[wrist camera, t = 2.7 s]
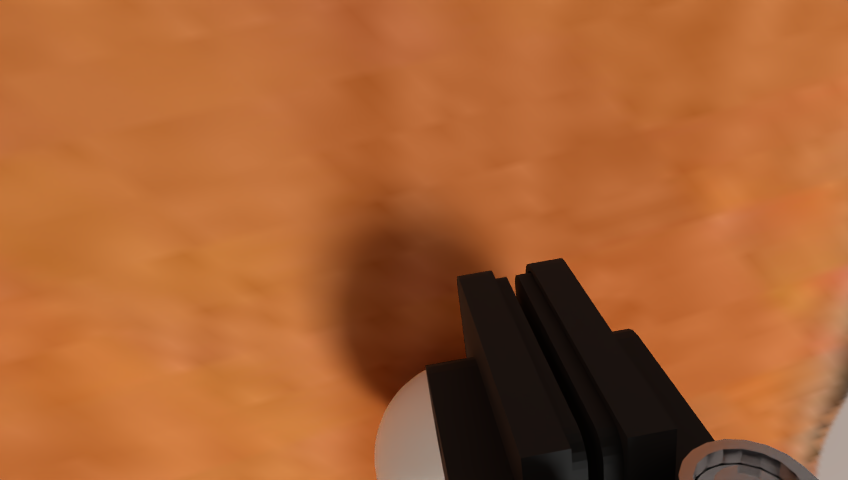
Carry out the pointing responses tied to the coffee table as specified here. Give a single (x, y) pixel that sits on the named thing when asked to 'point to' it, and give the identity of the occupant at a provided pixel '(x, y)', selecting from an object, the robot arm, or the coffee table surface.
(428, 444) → the cue ball
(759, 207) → the coffee table surface
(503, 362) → the robot arm
